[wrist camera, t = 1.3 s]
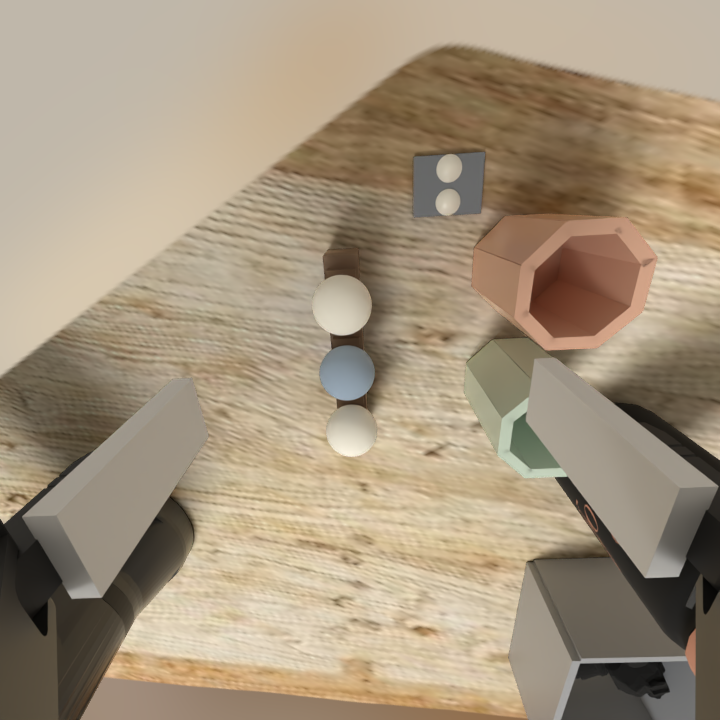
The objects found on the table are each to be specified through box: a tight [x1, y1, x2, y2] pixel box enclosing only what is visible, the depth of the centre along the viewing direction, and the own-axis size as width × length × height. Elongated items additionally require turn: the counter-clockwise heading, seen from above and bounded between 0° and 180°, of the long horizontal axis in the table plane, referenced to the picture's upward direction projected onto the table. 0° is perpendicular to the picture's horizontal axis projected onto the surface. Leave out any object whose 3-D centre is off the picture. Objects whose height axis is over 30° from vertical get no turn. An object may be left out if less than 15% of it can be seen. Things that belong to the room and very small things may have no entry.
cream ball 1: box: [312, 275, 372, 335], centre depth 24 cm, size 4×4×4 cm
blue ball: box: [320, 345, 375, 400], centre depth 26 cm, size 4×4×4 cm
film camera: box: [575, 662, 670, 699], centre depth 42 cm, size 15×10×9 cm, turn 31°
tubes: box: [413, 152, 657, 478], centre depth 25 cm, size 12×22×9 cm, turn 3°
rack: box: [323, 248, 367, 409], centre depth 29 cm, size 2×16×5 cm, turn 3°
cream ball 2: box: [326, 405, 377, 457], centre depth 28 cm, size 4×4×4 cm
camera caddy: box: [508, 557, 695, 720], centre depth 41 cm, size 16×21×10 cm
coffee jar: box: [555, 403, 720, 675], centre depth 27 cm, size 11×11×18 cm
